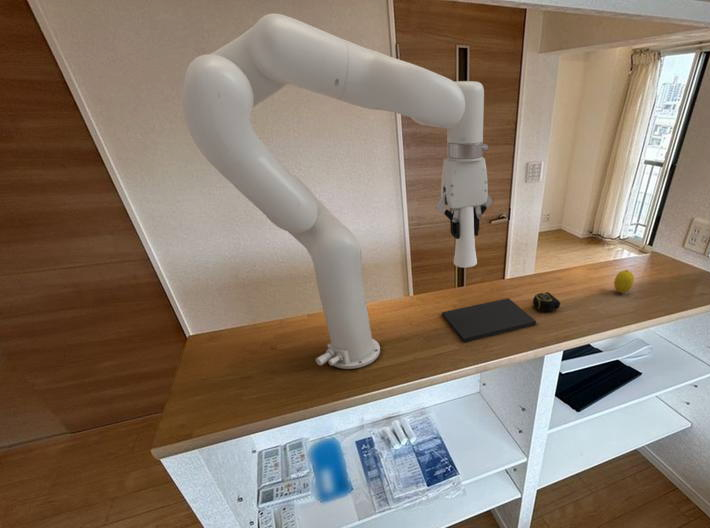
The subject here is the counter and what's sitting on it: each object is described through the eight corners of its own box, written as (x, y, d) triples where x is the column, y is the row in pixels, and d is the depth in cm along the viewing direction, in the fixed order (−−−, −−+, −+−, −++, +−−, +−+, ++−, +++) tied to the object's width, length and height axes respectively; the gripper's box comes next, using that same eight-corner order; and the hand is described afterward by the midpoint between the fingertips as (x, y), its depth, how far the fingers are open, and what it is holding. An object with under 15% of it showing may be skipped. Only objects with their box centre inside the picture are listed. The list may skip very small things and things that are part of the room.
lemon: (633, 294, 118) (640, 270, 114) (622, 298, 116) (629, 275, 111) (618, 287, 122) (625, 265, 118) (607, 292, 120) (614, 268, 115)
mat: (463, 342, 95) (463, 338, 95) (442, 315, 106) (441, 312, 106) (535, 324, 103) (536, 321, 102) (508, 301, 114) (508, 297, 113)
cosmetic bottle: (479, 259, 96) (481, 167, 83) (473, 269, 91) (474, 172, 78) (457, 257, 97) (456, 165, 84) (450, 266, 92) (447, 170, 80)
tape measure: (559, 311, 109) (562, 300, 107) (539, 315, 107) (540, 303, 105) (548, 301, 114) (550, 290, 112) (528, 304, 112) (529, 293, 110)
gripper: (491, 147, 85) (488, 226, 96) (422, 152, 79) (427, 236, 90) (507, 151, 79) (502, 235, 90) (435, 156, 74) (438, 245, 84)
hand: (464, 234), depth 90 cm, fingers closed on cosmetic bottle, 4 cm apart
